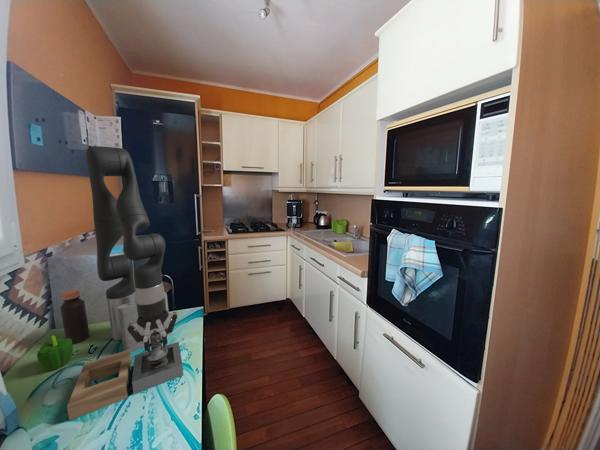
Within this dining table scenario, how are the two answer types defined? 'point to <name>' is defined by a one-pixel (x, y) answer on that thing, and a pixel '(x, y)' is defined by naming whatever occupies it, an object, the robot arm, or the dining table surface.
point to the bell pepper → (55, 353)
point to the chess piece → (156, 352)
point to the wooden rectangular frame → (100, 384)
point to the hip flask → (130, 315)
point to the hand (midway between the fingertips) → (156, 347)
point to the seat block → (151, 378)
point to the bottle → (74, 316)
